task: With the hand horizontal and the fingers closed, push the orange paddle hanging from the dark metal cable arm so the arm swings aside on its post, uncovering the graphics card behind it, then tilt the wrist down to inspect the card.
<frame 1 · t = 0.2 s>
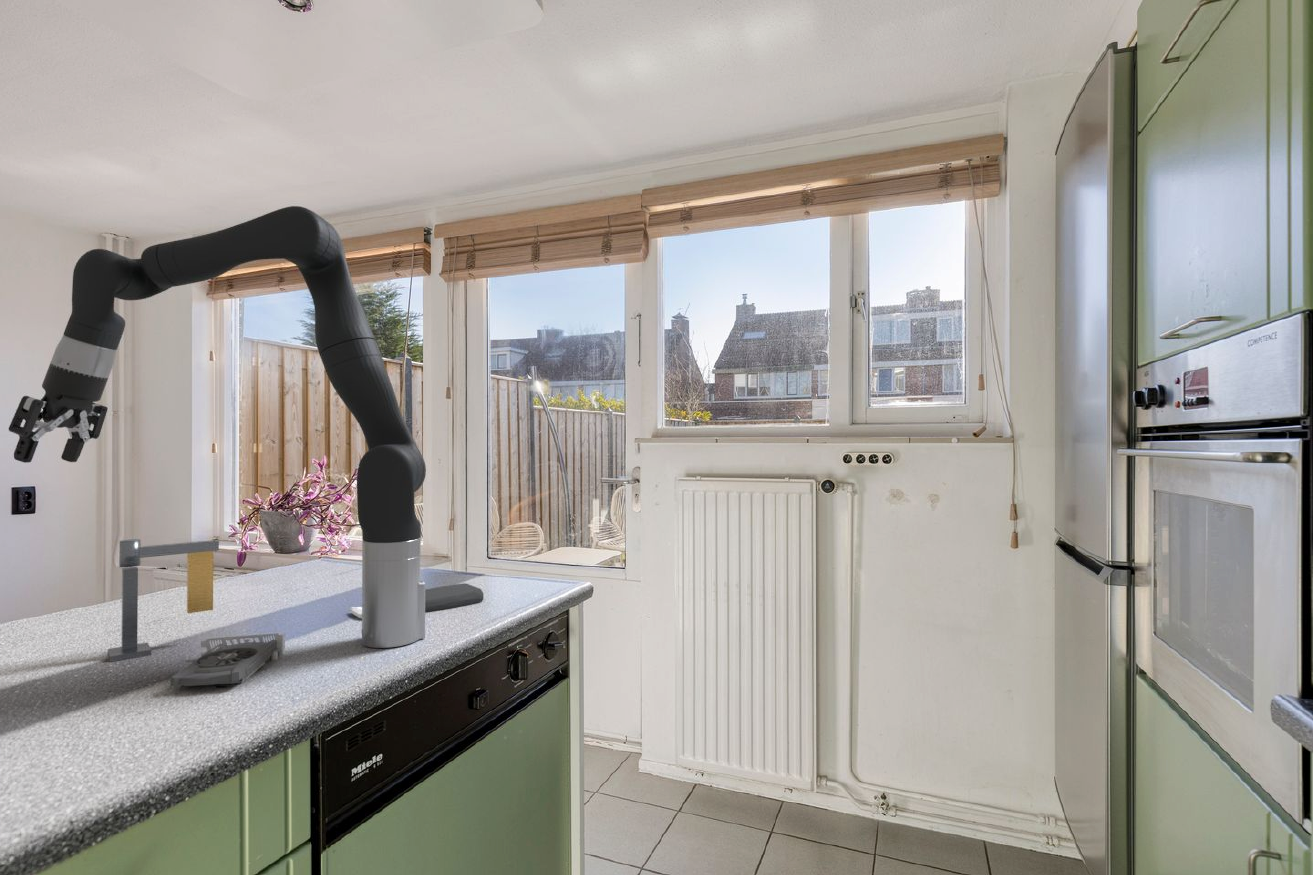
hand: (46, 461, 108), 30 cm above the worktop, tool tilted 20°, fingers open, 8 cm apart
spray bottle: (419, 610, 133), on the worktop
graphics card: (222, 676, 96), on the worktop
mast: (129, 654, 103), on the worktop
cable arm: (170, 576, 107), point 12 cm above the worktop, hinge at 0.0°
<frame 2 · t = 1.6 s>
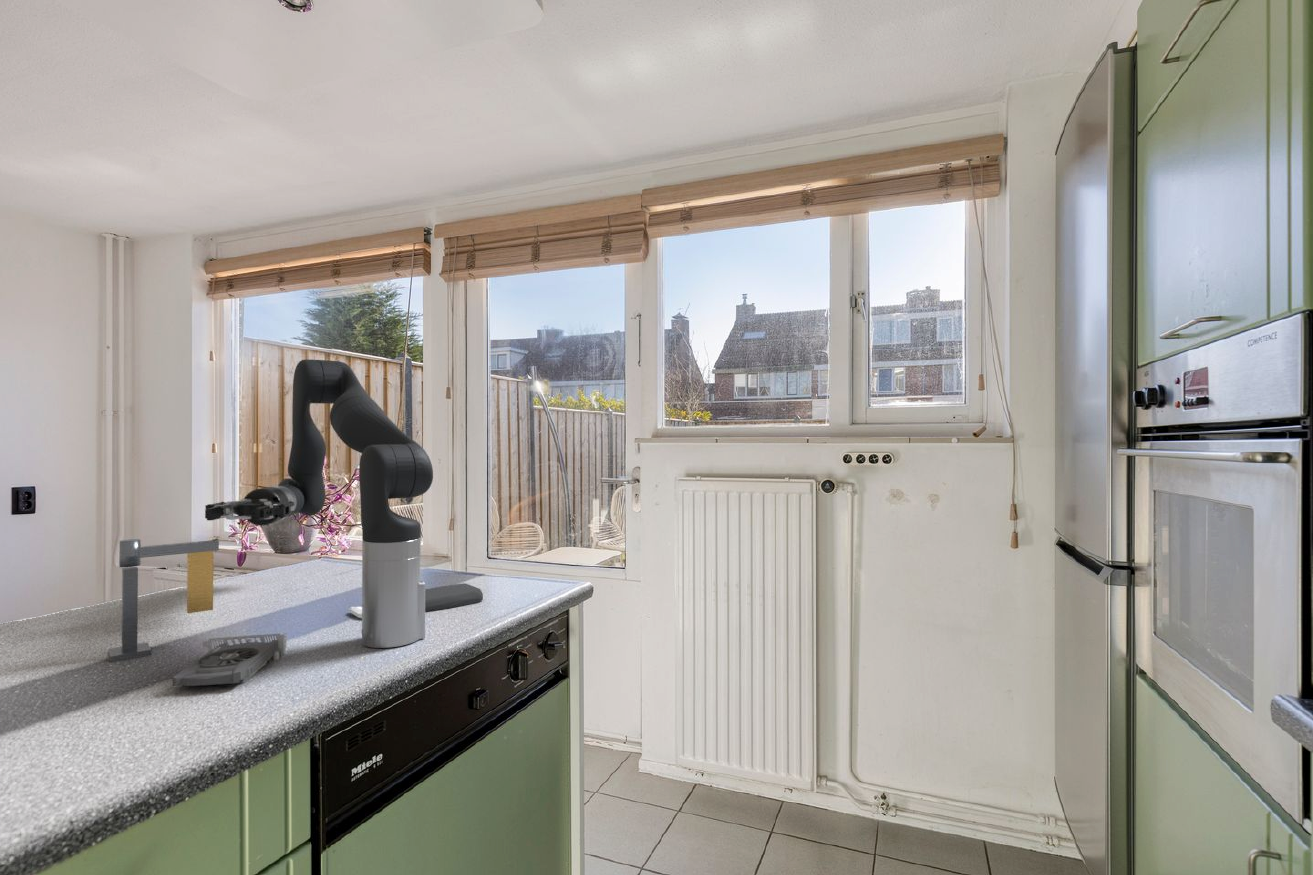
hand: (233, 514, 120), 20 cm above the worktop, tool horizontal, fingers open, 8 cm apart
nothing on the worktop moved.
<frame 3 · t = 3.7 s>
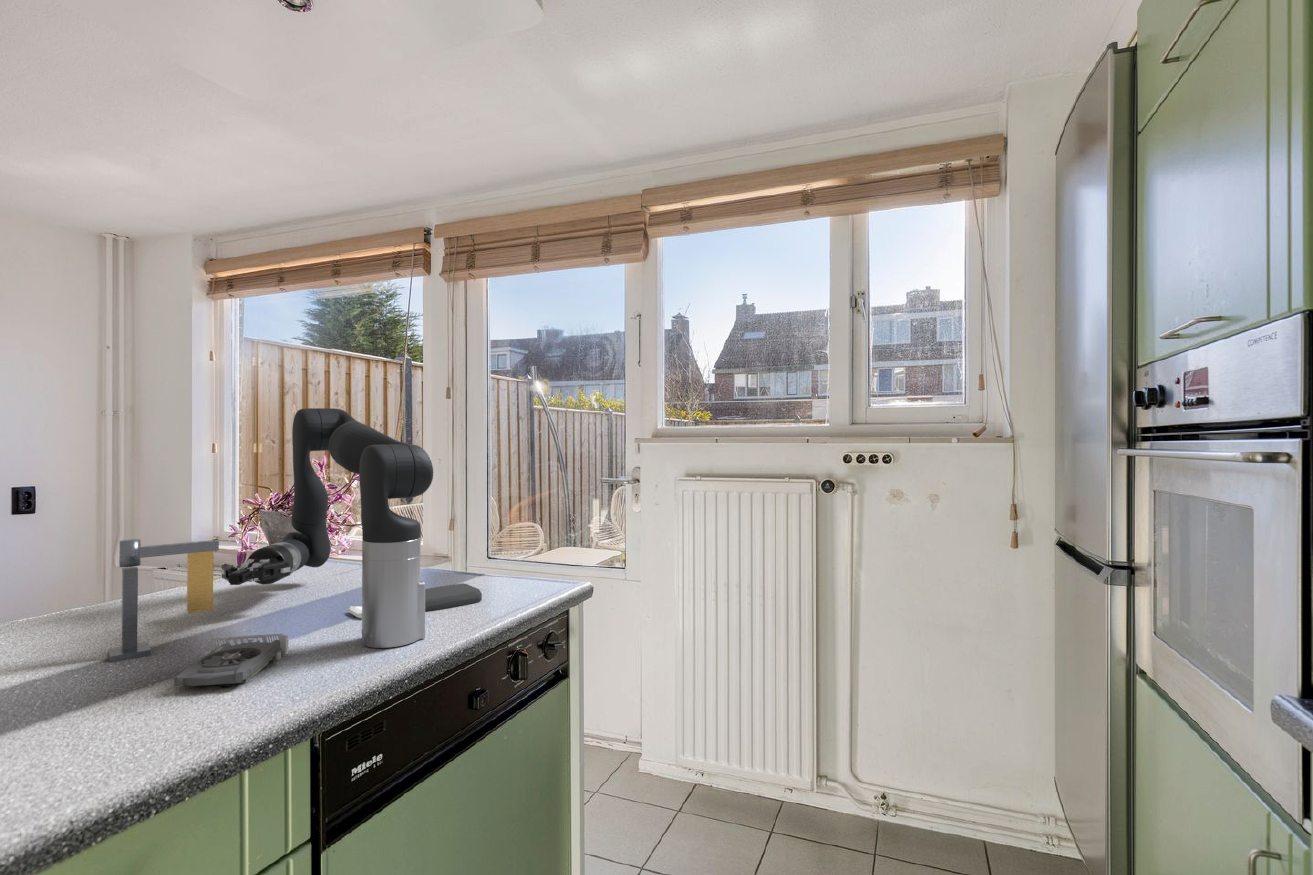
hand: (234, 579, 120), 8 cm above the worktop, tool horizontal, fingers closed
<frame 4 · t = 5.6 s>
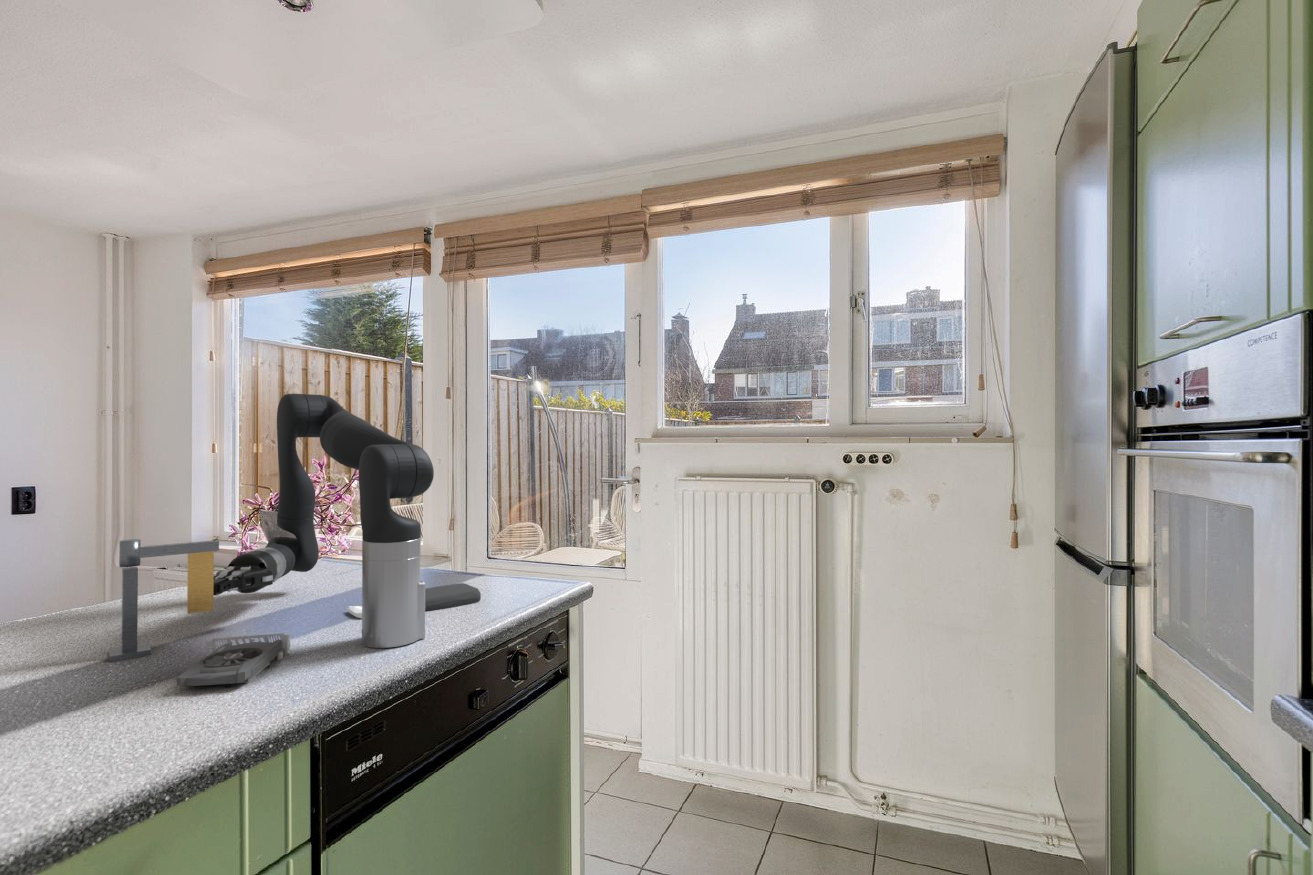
hand: (211, 589, 111), 8 cm above the worktop, tool horizontal, fingers closed
cable arm: (170, 576, 107), point 12 cm above the worktop, hinge at 1.9°, touching gripper
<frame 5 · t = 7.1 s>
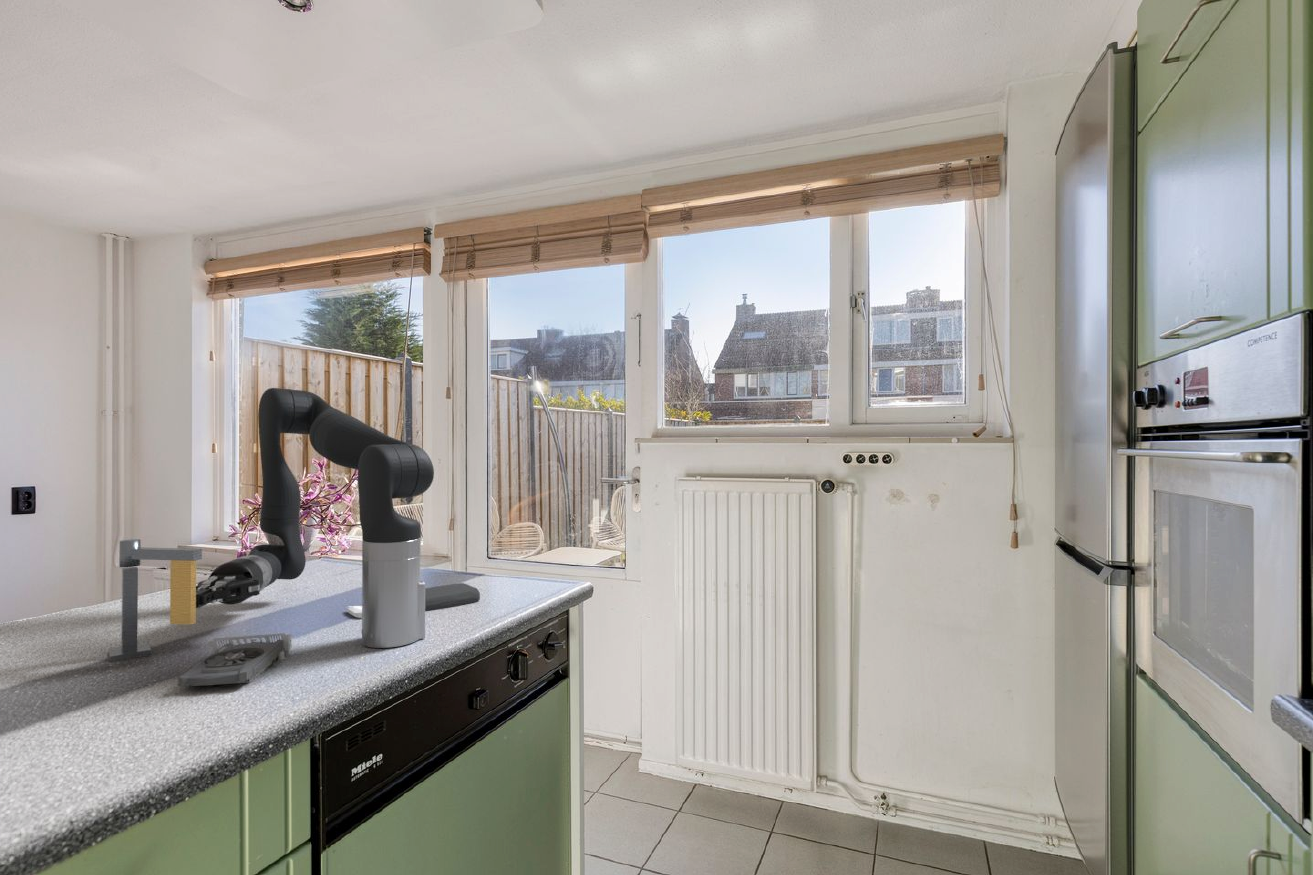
hand: (193, 601, 103), 8 cm above the worktop, tool horizontal, fingers closed
cable arm: (159, 581, 103), point 12 cm above the worktop, hinge at 50.2°, touching gripper
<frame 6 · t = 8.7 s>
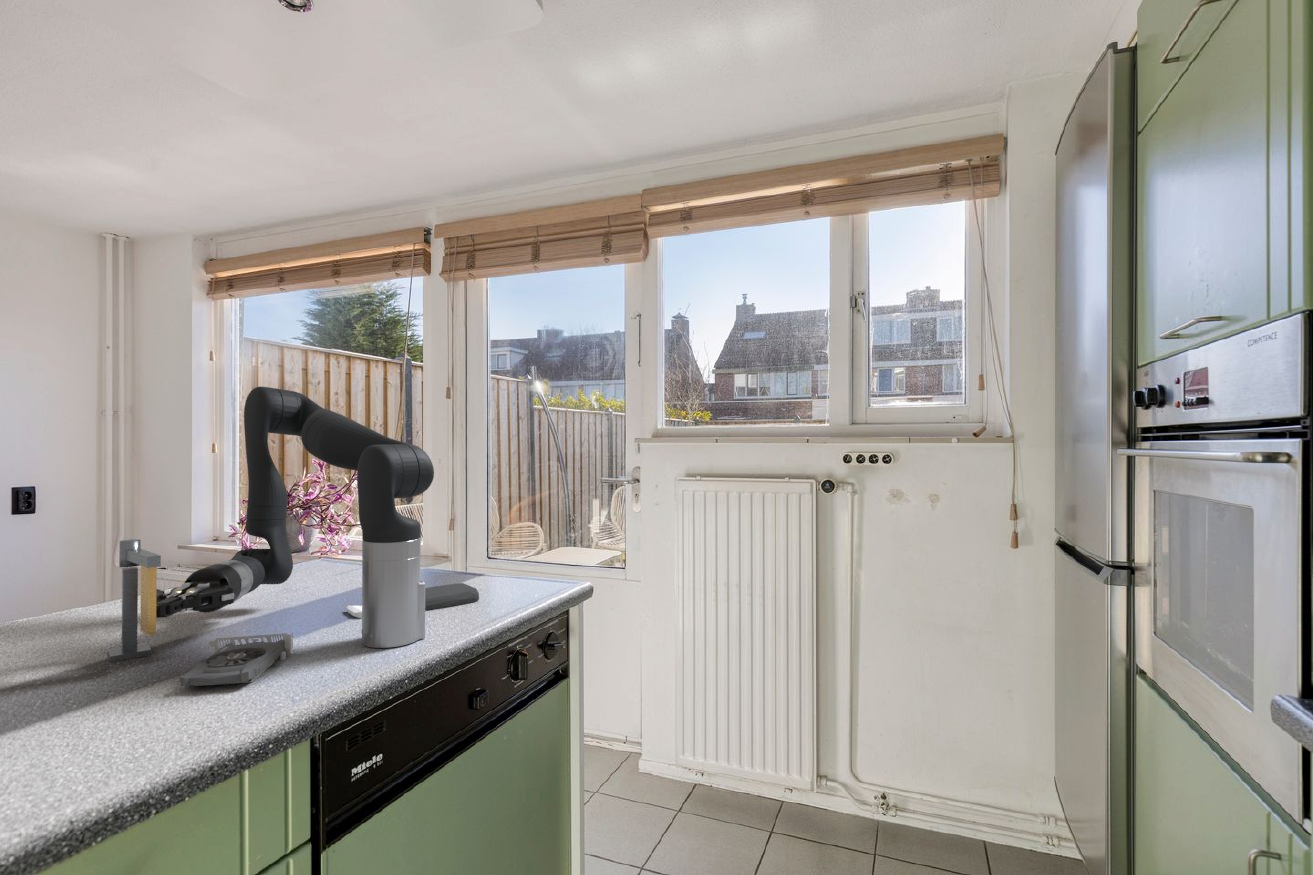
hand: (159, 610, 98), 8 cm above the worktop, tool horizontal, fingers closed
cable arm: (140, 585, 100), point 12 cm above the worktop, hinge at 81.3°, touching gripper
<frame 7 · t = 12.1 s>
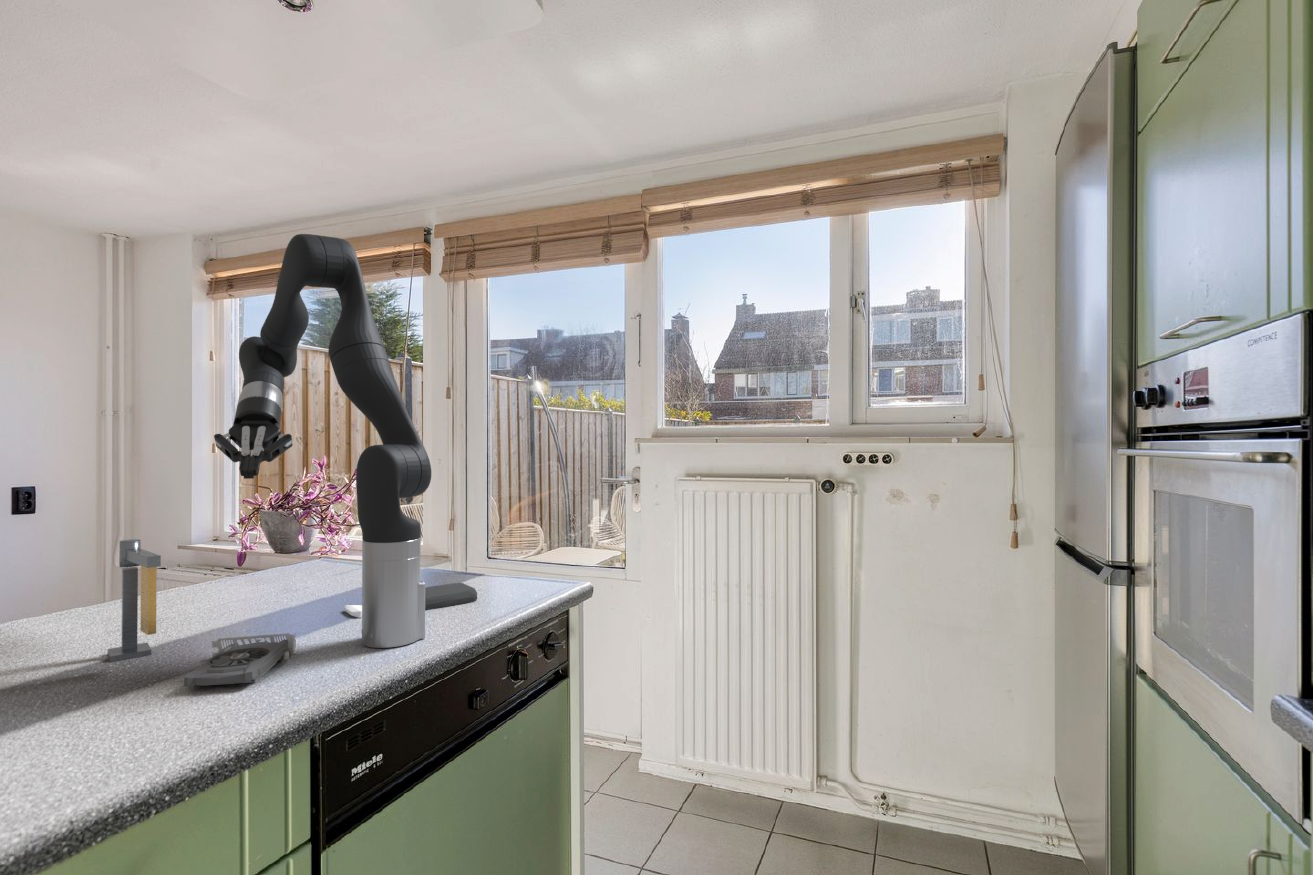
hand: (248, 475, 116), 28 cm above the worktop, tool tilted 45°, fingers closed
cable arm: (140, 585, 100), point 12 cm above the worktop, hinge at 81.3°
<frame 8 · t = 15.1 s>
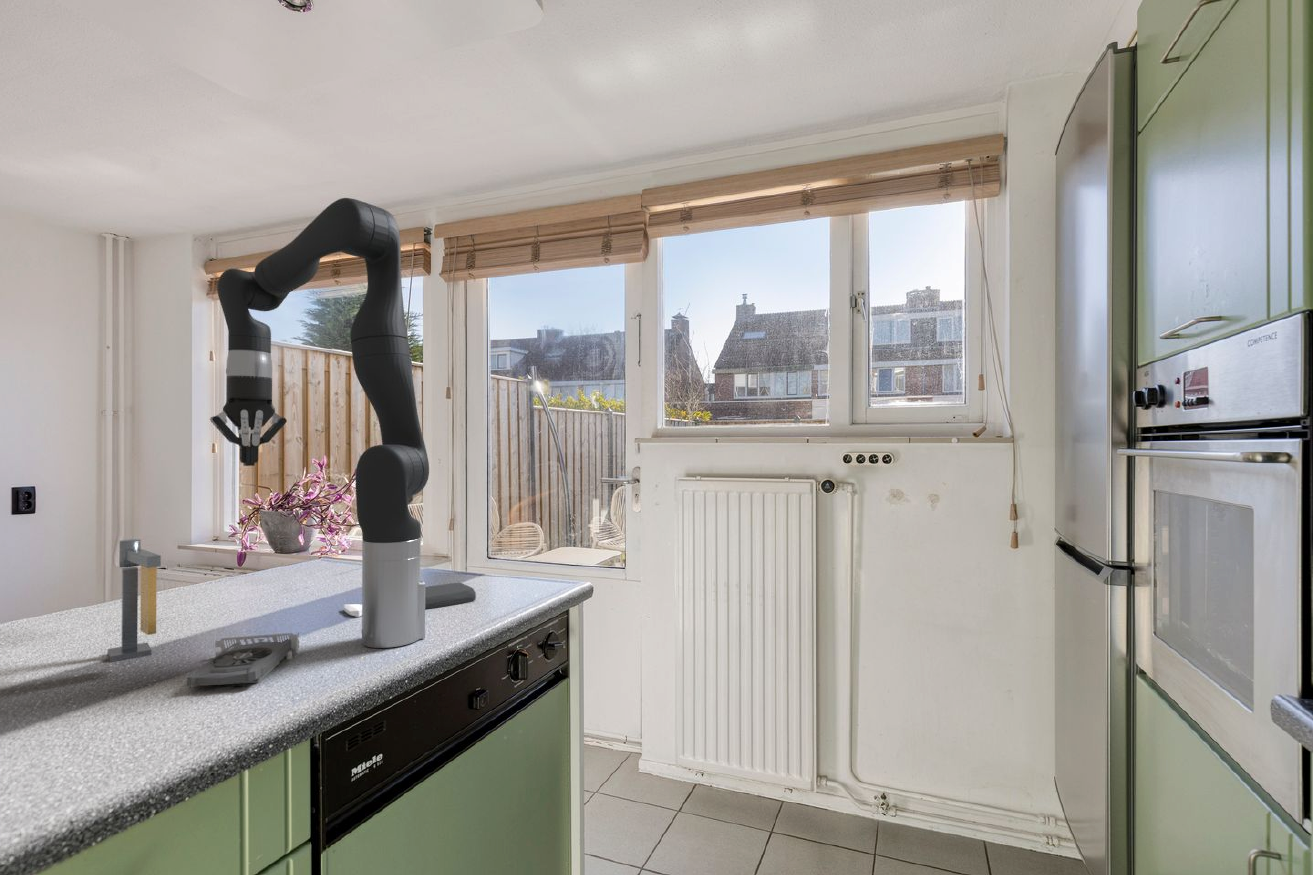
hand: (249, 465, 126), 29 cm above the worktop, tool pointing down, fingers closed
at the end: cable arm at +81° (first picture: +0°); graphics card moved 2.3 cm from its start; cable arm touching nothing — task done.
